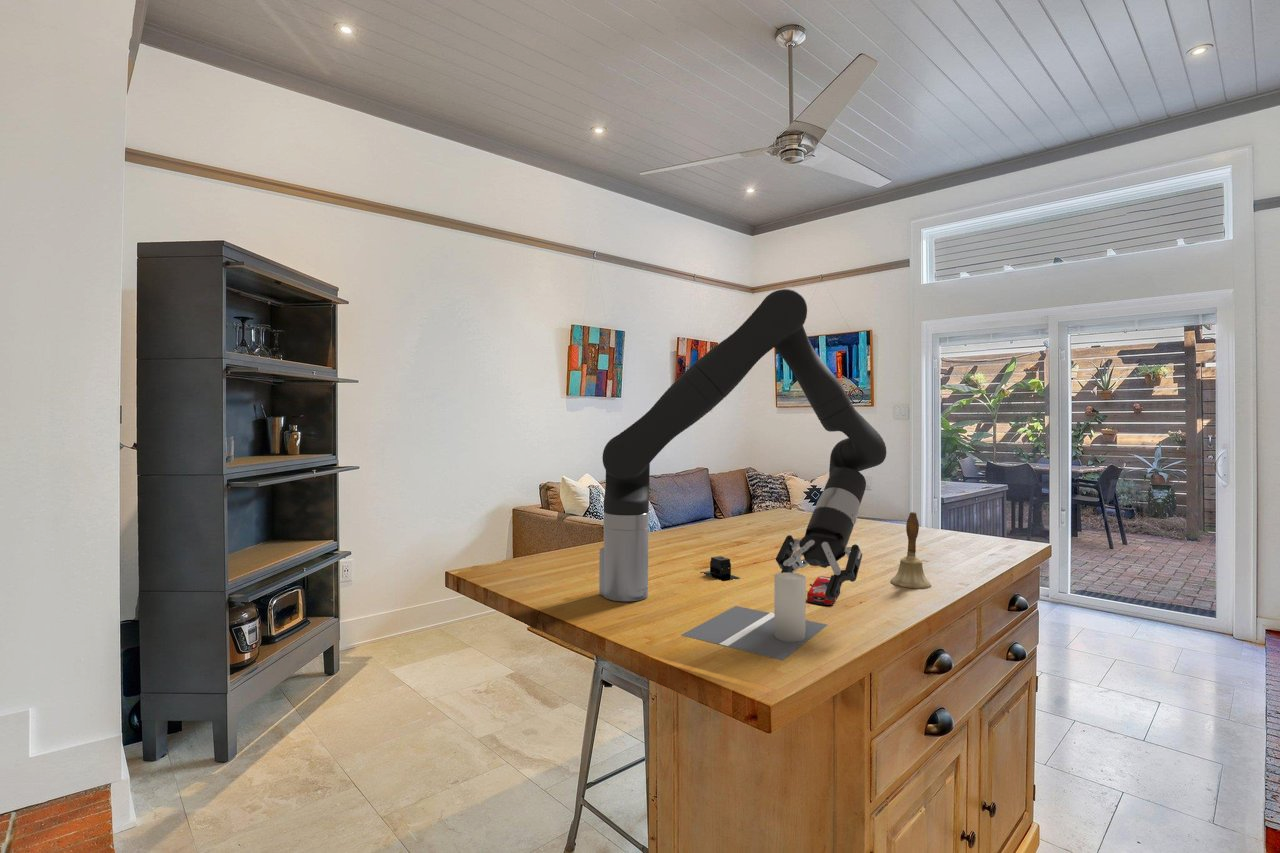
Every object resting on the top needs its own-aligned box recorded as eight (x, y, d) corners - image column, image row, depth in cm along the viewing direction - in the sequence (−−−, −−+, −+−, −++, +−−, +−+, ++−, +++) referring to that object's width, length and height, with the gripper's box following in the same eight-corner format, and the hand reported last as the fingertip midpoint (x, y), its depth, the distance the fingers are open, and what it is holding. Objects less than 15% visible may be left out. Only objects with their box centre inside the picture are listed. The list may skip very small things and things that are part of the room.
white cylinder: (769, 637, 103) (769, 577, 102) (781, 629, 107) (781, 571, 106) (799, 644, 100) (799, 582, 100) (809, 634, 104) (809, 575, 104)
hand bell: (917, 578, 144) (918, 509, 144) (939, 588, 136) (940, 515, 135) (883, 579, 143) (884, 510, 142) (903, 589, 134) (904, 515, 134)
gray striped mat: (680, 637, 104) (680, 634, 104) (735, 608, 120) (735, 605, 120) (783, 663, 93) (783, 659, 93) (828, 627, 110) (828, 624, 110)
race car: (832, 609, 121) (832, 589, 121) (804, 605, 123) (804, 585, 123) (843, 592, 133) (843, 573, 133) (817, 589, 135) (817, 570, 135)
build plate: (749, 581, 142) (749, 561, 142) (724, 586, 138) (724, 565, 138) (716, 570, 153) (716, 551, 152) (691, 573, 149) (691, 554, 149)
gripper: (791, 501, 118) (760, 573, 110) (866, 509, 109) (838, 588, 100) (804, 526, 122) (775, 597, 114) (877, 535, 113) (851, 613, 104)
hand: (805, 592), depth 107 cm, fingers open, 8 cm apart
